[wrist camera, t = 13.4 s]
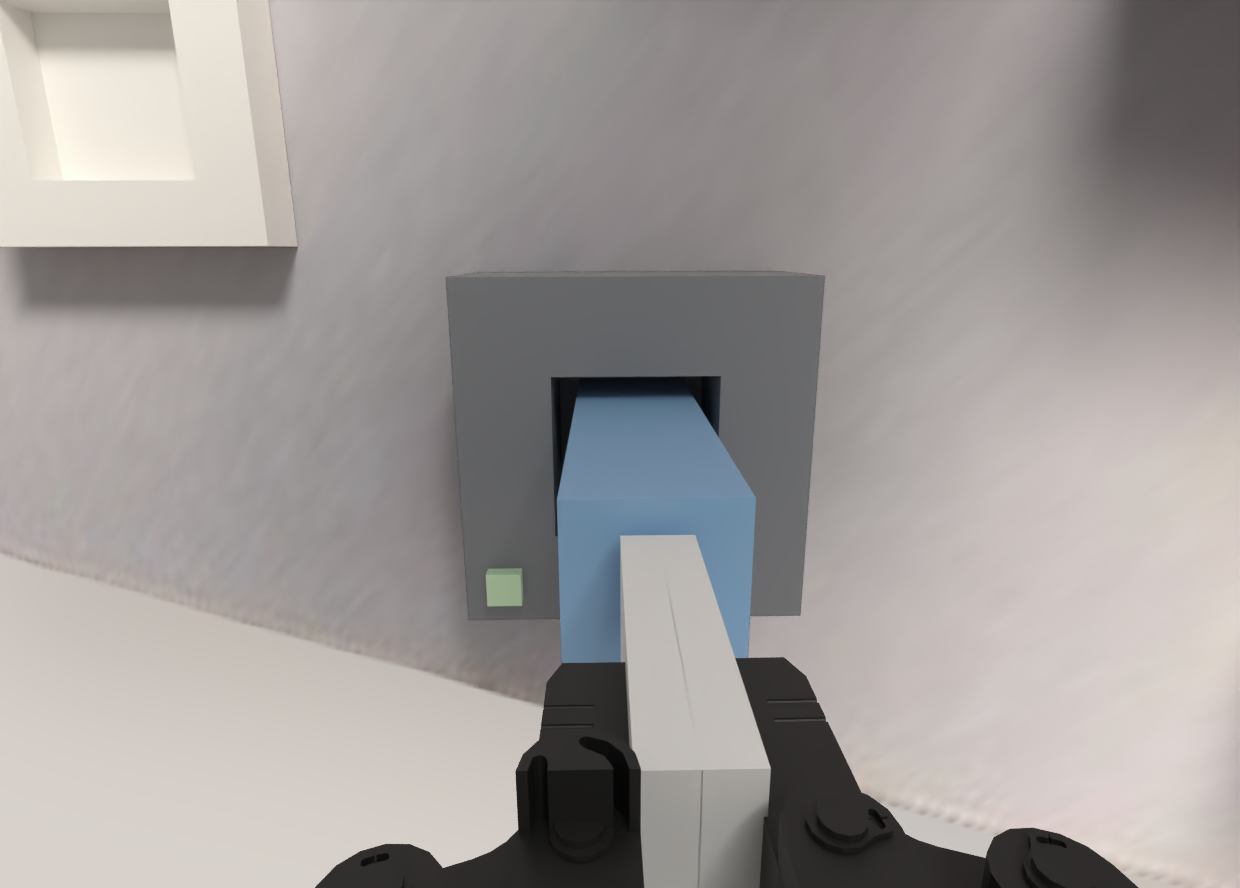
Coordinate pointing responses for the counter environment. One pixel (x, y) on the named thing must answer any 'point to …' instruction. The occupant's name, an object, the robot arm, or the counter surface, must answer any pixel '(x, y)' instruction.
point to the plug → (646, 506)
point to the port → (626, 348)
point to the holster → (141, 125)
